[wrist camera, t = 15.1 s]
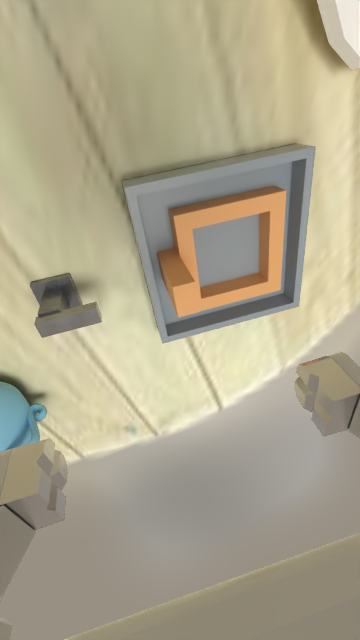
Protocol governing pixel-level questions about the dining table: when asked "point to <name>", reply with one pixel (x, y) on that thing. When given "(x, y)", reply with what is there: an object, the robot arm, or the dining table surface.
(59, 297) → the grey angular piece
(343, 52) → the soft serve ice cream
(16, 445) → the decorative pot
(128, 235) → the dining table surface
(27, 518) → the robot arm
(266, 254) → the ring
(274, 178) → the tray
